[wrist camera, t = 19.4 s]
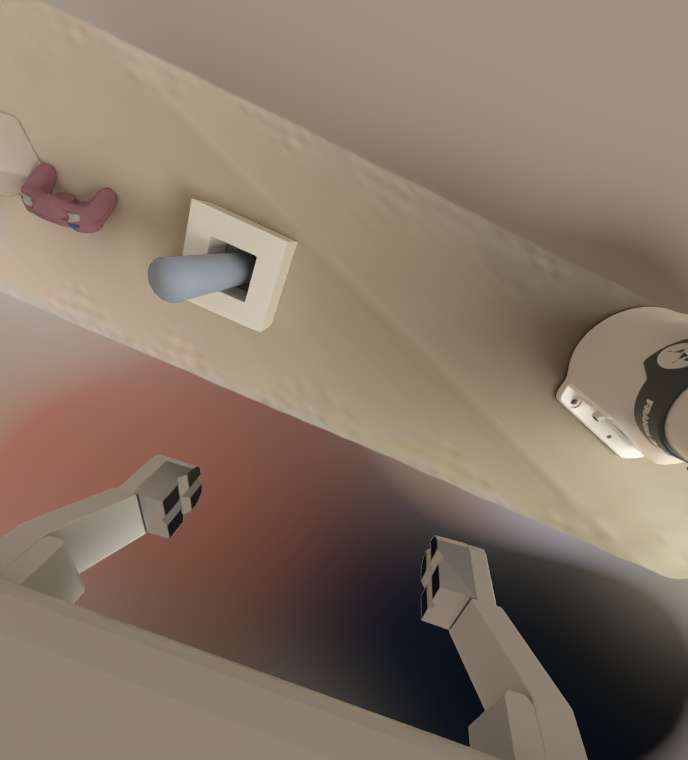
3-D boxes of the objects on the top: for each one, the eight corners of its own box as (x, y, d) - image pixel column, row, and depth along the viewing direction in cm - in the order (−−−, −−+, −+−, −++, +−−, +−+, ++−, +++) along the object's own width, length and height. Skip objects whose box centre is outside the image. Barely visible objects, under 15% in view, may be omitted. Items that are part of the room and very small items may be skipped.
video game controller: (61, 195, 44) (15, 215, 40) (45, 158, 40) (-8, 176, 36) (128, 222, 44) (89, 245, 40) (117, 187, 41) (74, 209, 36)
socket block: (297, 242, 41) (287, 241, 37) (271, 324, 46) (260, 332, 42) (211, 202, 40) (191, 198, 36) (194, 290, 45) (175, 295, 41)
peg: (263, 270, 43) (198, 283, 28) (244, 289, 44) (172, 311, 30) (242, 245, 42) (164, 246, 27) (224, 265, 43) (139, 277, 29)
